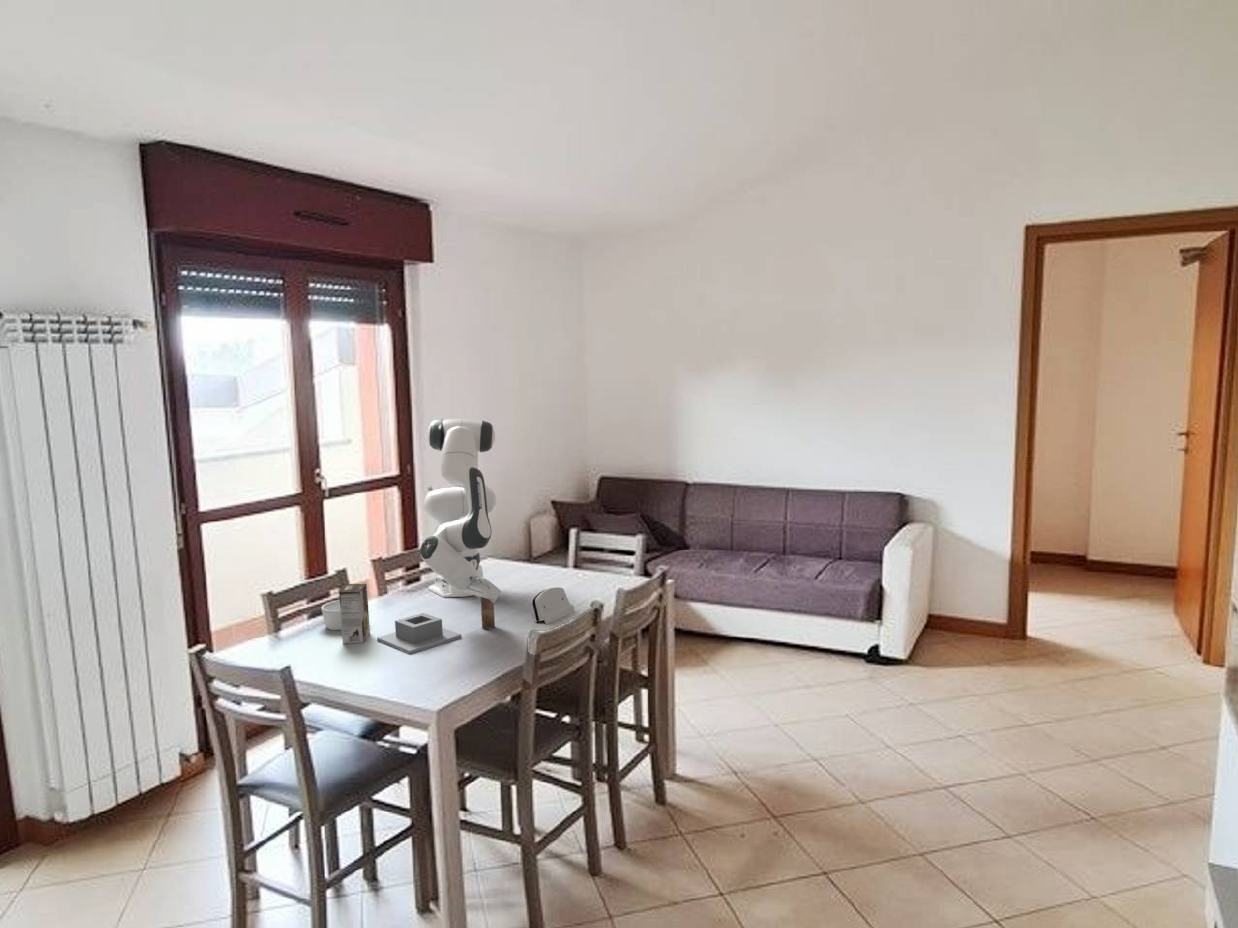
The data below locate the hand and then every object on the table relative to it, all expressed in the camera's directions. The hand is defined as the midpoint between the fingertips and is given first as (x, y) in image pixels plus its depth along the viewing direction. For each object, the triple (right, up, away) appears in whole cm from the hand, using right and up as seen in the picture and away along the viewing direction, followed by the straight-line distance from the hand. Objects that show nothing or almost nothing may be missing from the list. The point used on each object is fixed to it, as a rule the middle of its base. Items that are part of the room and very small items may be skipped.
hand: (488, 599), depth 248 cm
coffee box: (-40, -11, -6) cm, 42 cm away
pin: (0, -9, +1) cm, 9 cm away
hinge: (+19, -8, +11) cm, 23 cm away
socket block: (-20, -11, -8) cm, 24 cm away
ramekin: (-48, -10, +7) cm, 49 cm away
